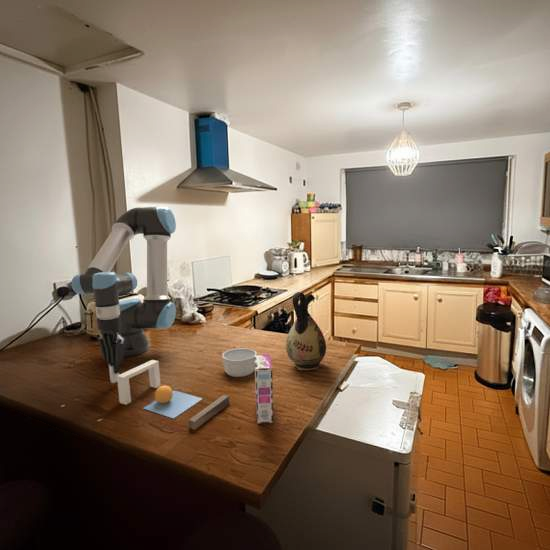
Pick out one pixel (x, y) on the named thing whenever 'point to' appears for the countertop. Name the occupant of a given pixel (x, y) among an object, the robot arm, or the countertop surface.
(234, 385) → the countertop surface
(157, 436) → the countertop surface
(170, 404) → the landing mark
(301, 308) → the ceramic jug
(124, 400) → the bridge
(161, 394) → the ball
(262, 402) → the candy bar box
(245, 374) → the ramekin
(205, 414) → the stopper
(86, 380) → the countertop surface
